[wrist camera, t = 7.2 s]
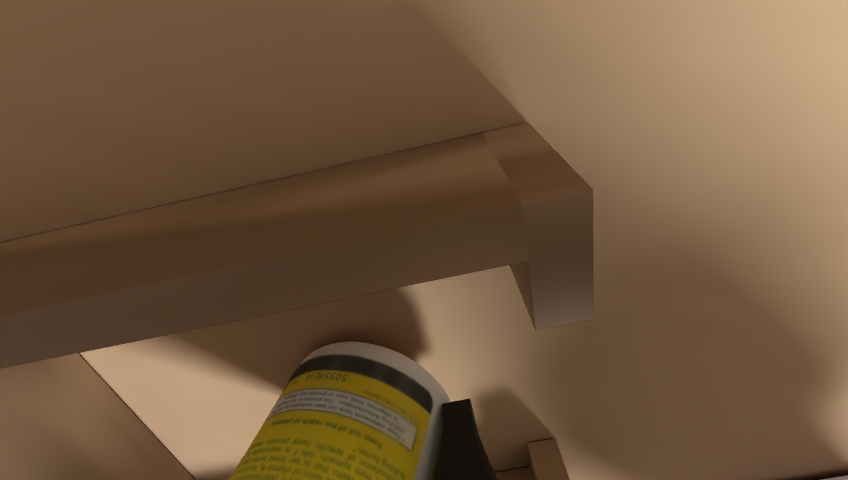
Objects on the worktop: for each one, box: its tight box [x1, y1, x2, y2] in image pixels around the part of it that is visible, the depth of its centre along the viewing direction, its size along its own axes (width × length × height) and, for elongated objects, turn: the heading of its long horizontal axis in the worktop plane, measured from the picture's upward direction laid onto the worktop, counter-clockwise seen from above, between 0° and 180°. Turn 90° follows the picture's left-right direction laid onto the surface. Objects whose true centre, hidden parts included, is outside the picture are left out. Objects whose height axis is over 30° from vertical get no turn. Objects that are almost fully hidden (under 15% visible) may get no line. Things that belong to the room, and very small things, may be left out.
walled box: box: [0, 122, 593, 480], centre depth 11 cm, size 14×14×4 cm
